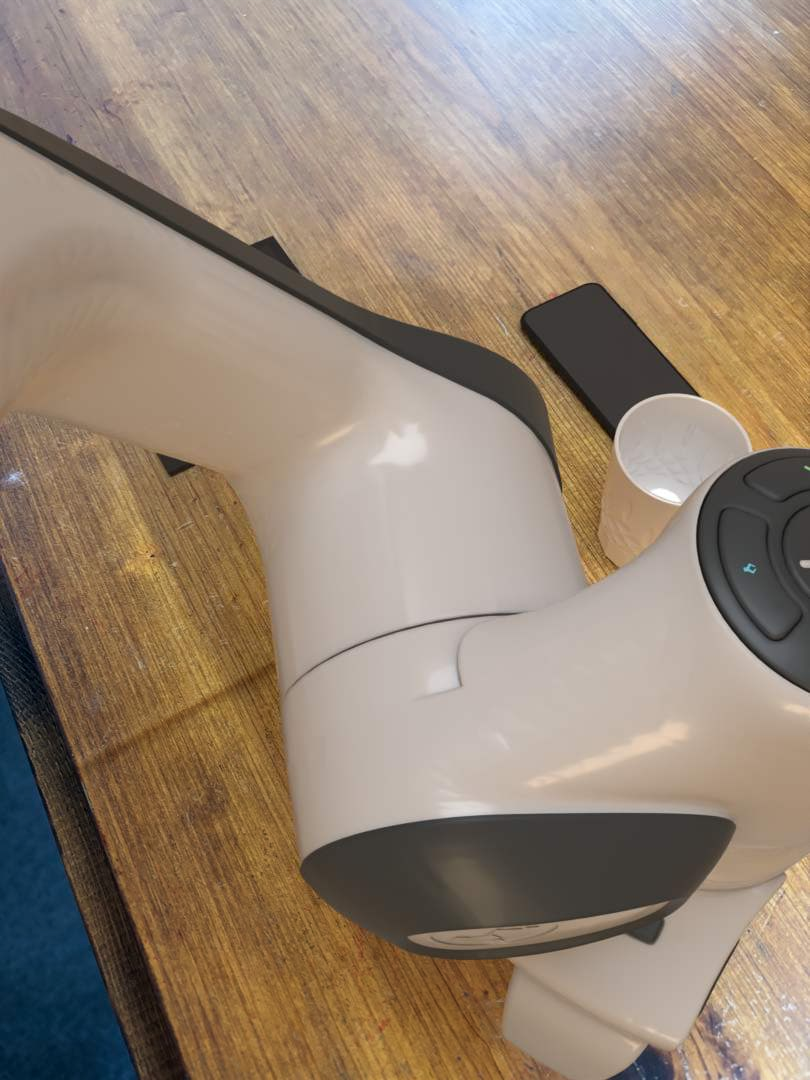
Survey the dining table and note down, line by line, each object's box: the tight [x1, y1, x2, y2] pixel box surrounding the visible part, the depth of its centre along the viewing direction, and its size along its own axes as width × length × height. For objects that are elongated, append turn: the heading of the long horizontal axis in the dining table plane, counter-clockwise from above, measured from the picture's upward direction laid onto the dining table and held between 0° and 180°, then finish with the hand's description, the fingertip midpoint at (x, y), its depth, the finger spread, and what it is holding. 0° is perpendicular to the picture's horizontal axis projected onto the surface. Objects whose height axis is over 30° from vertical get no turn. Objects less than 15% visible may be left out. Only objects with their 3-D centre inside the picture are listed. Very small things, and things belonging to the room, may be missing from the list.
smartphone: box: [519, 282, 703, 440], centre depth 76 cm, size 7×1×15 cm
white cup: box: [596, 394, 754, 569], centre depth 65 cm, size 8×8×10 cm
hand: (621, 863), depth 50 cm, fingers open, 8 cm apart
